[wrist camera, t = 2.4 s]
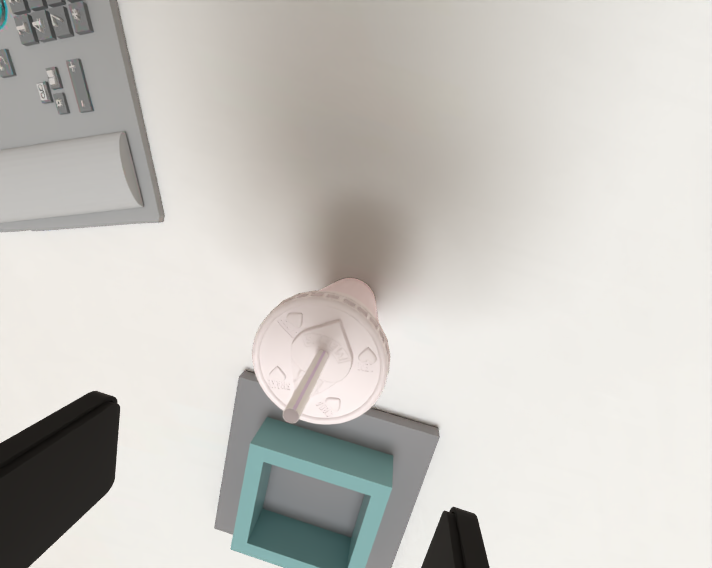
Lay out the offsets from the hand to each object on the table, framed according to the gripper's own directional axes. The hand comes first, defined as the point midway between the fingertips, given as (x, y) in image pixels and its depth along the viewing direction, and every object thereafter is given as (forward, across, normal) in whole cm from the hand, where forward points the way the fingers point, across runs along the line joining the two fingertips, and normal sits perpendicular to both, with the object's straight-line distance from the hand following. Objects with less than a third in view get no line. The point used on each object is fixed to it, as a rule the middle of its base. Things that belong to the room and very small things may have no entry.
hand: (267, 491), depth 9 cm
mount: (+16, 0, +15) cm, 22 cm away
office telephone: (+16, +28, -11) cm, 34 cm away
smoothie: (+16, 0, -1) cm, 16 cm away
